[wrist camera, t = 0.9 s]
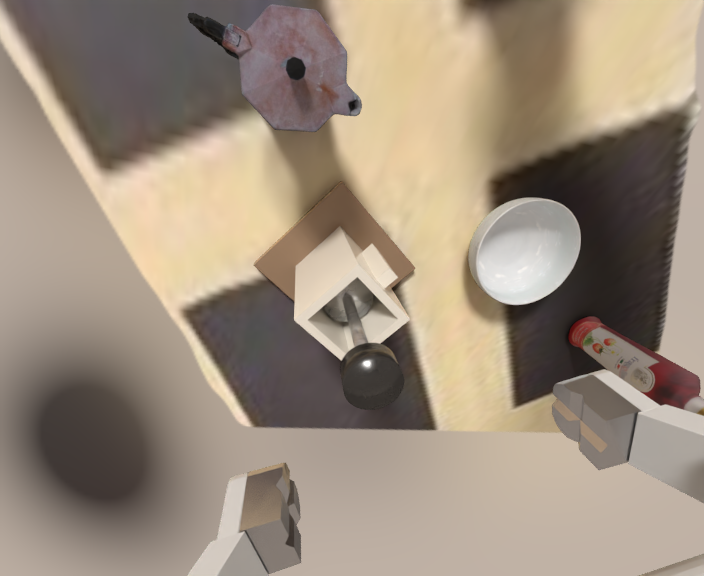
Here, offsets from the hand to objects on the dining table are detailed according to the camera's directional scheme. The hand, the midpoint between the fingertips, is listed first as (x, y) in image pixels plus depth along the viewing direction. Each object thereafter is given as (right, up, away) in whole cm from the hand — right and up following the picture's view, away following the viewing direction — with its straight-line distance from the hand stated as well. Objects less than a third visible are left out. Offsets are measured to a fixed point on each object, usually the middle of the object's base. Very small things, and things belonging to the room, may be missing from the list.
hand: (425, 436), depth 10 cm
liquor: (+43, -4, +57) cm, 72 cm away
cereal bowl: (+24, +12, +47) cm, 54 cm away
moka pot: (-11, +30, +34) cm, 46 cm away
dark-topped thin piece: (-3, +3, +32) cm, 33 cm away
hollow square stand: (-5, +8, +44) cm, 45 cm away
